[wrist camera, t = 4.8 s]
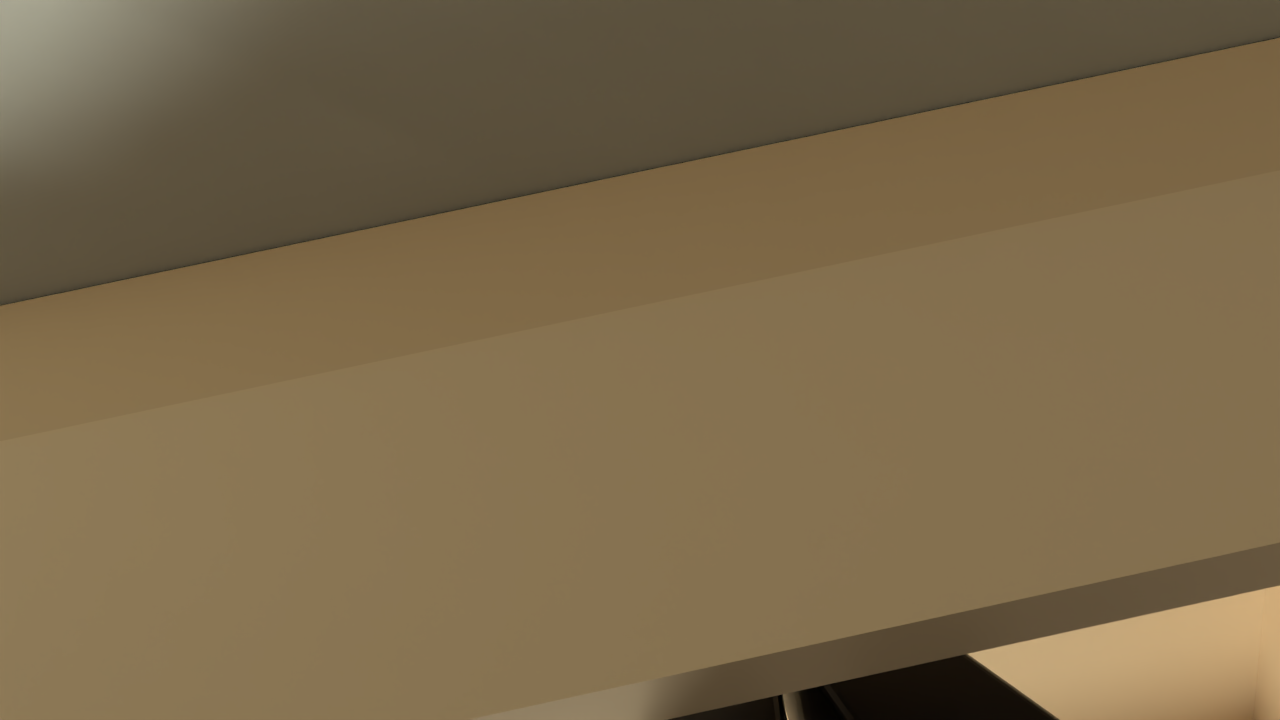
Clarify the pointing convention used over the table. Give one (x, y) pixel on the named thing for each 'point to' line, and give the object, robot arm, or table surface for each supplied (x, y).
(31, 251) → the table surface
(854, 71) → the table surface
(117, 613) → the front flap
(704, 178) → the carton
